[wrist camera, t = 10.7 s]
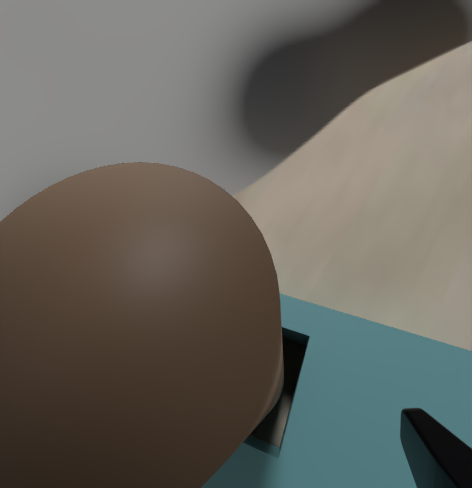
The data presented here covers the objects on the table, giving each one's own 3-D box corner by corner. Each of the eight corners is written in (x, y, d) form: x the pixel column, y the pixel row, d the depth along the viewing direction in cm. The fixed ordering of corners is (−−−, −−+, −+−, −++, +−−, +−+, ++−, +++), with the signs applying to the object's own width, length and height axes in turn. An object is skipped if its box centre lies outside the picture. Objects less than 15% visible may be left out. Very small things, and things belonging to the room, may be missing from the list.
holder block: (438, 704, 11) (485, 798, 9) (113, 518, 15) (76, 544, 12) (463, 366, 16) (500, 360, 13) (206, 285, 19) (194, 267, 17)
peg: (299, 391, 16) (367, 375, 3) (232, 436, 16) (-58, 669, 2) (257, 324, 18) (178, 117, 5) (196, 363, 18) (-91, 261, 4)
